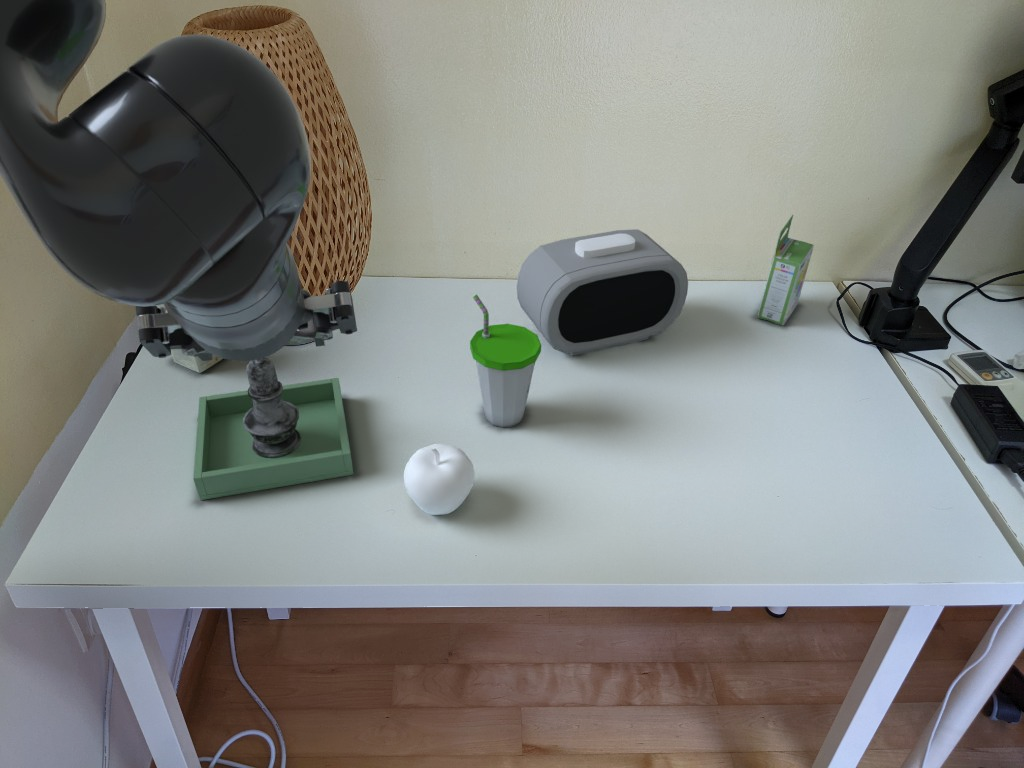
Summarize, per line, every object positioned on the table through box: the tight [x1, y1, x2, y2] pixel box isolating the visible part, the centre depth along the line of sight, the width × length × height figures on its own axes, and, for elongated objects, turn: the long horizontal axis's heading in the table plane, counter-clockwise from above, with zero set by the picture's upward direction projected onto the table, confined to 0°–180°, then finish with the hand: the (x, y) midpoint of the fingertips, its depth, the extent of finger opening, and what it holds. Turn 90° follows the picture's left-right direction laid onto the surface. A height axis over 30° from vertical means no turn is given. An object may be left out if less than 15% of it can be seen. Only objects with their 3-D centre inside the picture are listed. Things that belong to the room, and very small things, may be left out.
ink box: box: [757, 214, 815, 326], centre depth 107 cm, size 7×4×13 cm, turn 148°
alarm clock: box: [516, 228, 689, 357], centre depth 102 cm, size 21×10×13 cm, turn 112°
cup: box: [469, 293, 542, 428], centre depth 87 cm, size 8×8×15 cm
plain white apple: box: [403, 442, 476, 516], centre depth 77 cm, size 7×7×8 cm
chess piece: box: [243, 357, 301, 458], centre depth 82 cm, size 6×6×12 cm
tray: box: [192, 377, 354, 501], centre depth 85 cm, size 16×14×3 cm
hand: (263, 340), depth 61 cm, fingers open, 8 cm apart
